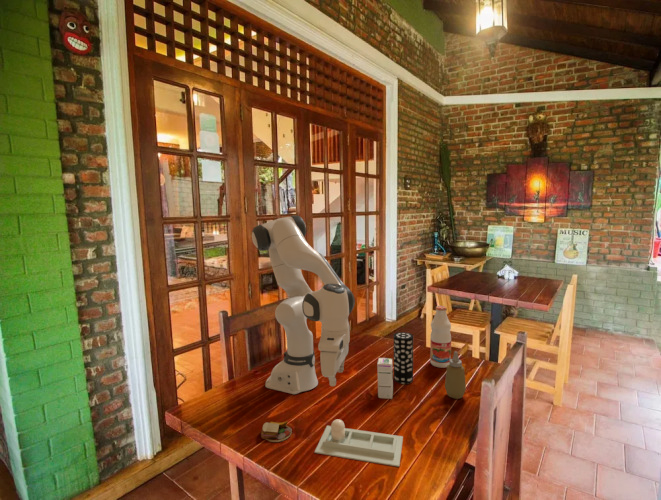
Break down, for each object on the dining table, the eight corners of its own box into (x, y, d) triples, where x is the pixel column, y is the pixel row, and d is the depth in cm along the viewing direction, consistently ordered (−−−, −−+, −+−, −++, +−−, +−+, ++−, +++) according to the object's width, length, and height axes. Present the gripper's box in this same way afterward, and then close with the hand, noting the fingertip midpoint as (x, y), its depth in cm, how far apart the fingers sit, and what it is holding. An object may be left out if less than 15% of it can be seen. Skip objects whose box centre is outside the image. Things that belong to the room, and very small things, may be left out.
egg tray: (314, 452, 113) (314, 446, 113) (327, 426, 126) (327, 421, 126) (399, 466, 106) (399, 460, 106) (403, 437, 119) (403, 431, 119)
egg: (329, 443, 117) (329, 423, 116) (333, 435, 121) (333, 415, 120) (343, 445, 115) (342, 425, 115) (346, 437, 120) (346, 417, 119)
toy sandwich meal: (288, 444, 118) (288, 434, 117) (258, 443, 119) (257, 433, 118) (294, 427, 127) (293, 417, 127) (265, 426, 128) (265, 416, 128)
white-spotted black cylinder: (393, 383, 156) (392, 338, 154) (394, 374, 164) (394, 331, 162) (412, 384, 154) (413, 339, 152) (413, 376, 162) (413, 332, 160)
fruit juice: (447, 359, 179) (448, 304, 175) (453, 368, 169) (454, 309, 166) (428, 359, 179) (428, 304, 176) (432, 368, 170) (433, 309, 167)
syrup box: (392, 399, 143) (392, 364, 142) (377, 398, 144) (377, 363, 143) (393, 392, 149) (392, 358, 147) (378, 390, 150) (378, 357, 148)
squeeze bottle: (447, 388, 151) (447, 346, 149) (467, 393, 146) (468, 350, 144) (442, 397, 144) (442, 353, 142) (463, 402, 140) (464, 357, 138)
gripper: (334, 325, 125) (335, 363, 126) (316, 347, 105) (317, 392, 107) (352, 326, 123) (353, 365, 125) (337, 348, 104) (338, 394, 105)
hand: (336, 378), depth 116 cm, fingers open, 8 cm apart
